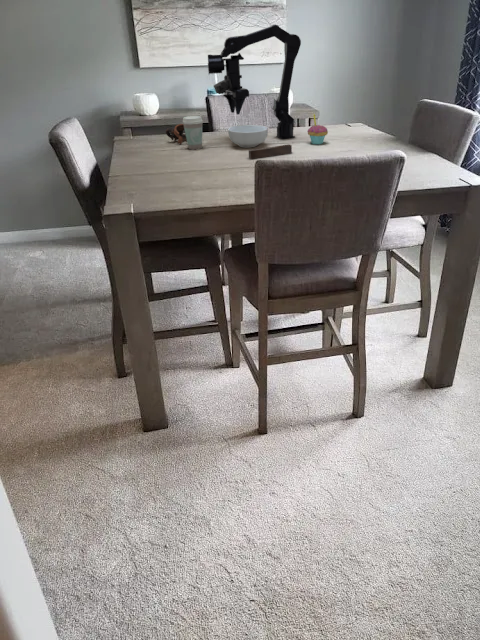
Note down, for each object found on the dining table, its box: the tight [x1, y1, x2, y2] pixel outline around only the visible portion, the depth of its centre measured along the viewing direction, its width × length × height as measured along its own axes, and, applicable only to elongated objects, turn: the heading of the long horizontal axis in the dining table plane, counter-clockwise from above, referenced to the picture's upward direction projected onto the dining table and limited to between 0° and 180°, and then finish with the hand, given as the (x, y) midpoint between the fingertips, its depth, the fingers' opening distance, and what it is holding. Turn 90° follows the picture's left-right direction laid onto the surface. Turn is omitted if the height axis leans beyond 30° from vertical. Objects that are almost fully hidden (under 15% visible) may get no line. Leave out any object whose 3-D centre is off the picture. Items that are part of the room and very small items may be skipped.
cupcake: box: [307, 112, 329, 145], centre depth 208 cm, size 9×8×12 cm
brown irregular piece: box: [165, 123, 187, 145], centre depth 220 cm, size 12×10×8 cm
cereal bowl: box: [227, 124, 269, 149], centre depth 210 cm, size 17×17×7 cm
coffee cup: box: [182, 115, 204, 150], centre depth 208 cm, size 8×9×12 cm
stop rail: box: [248, 144, 293, 160], centre depth 195 cm, size 18×2×3 cm, turn 116°
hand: (235, 113), depth 215 cm, fingers open, 6 cm apart
